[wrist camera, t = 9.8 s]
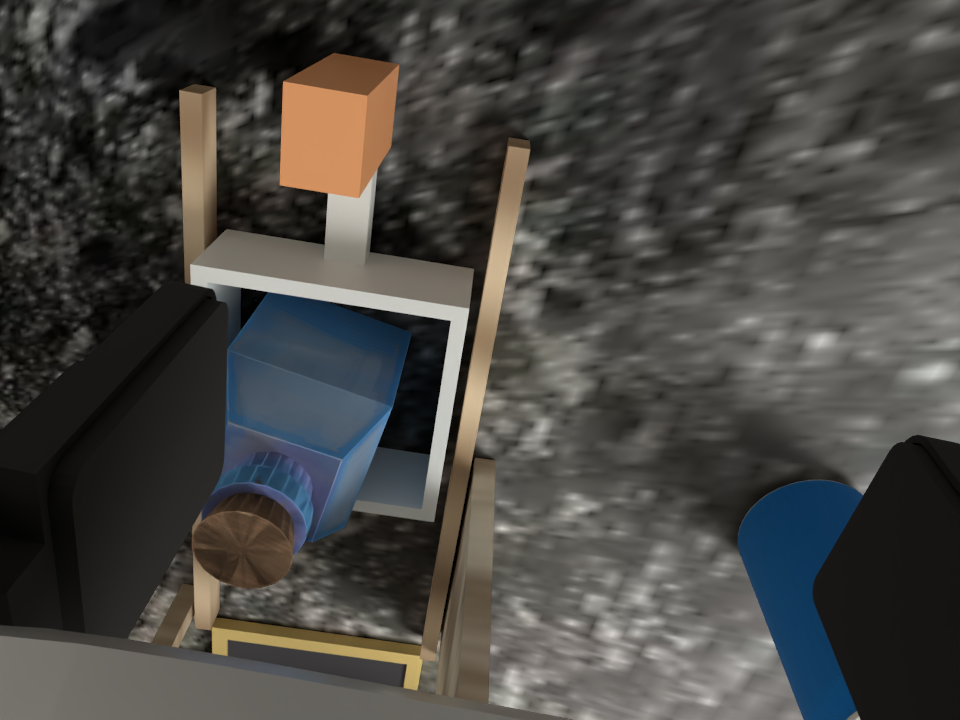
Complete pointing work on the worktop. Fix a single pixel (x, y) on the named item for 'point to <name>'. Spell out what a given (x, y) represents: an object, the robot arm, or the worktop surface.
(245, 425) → the perfume bottle
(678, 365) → the worktop surface
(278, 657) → the yellow framed grey pad
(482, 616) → the tunnel
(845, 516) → the beverage can
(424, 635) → the track
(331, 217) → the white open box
